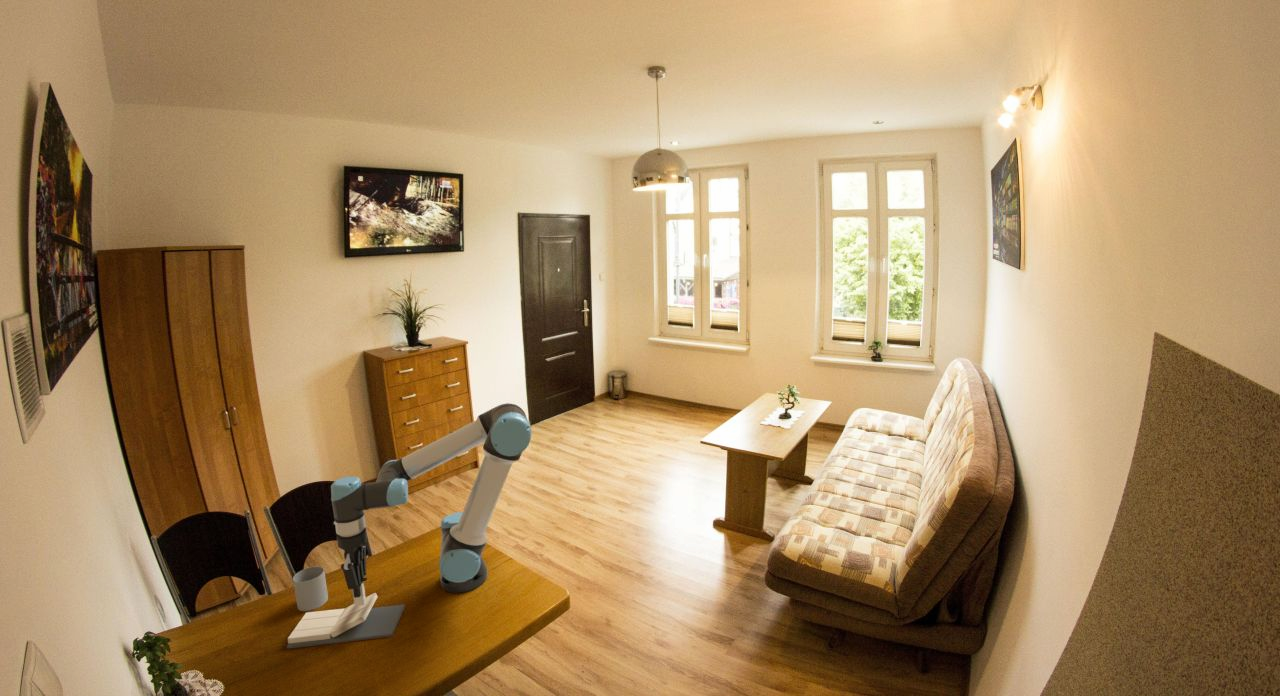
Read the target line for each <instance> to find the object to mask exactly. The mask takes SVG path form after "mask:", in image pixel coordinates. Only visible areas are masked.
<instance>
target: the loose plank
mask: <svg viewBox="0 0 1280 696" xmlns="http://www.w3.org/2000/svg"><path fill="white" fill-rule="evenodd" d="M365 597H366V603H365V605H361V606H354V603H352V604H351V605H349V606H347V607H345V609H344V608H343V609H344V611H343V613H342V614H341V616H340V618H339V619H338V621H337V623H336V624H335V626H334V628H333V629H332V631H331V633H330V635H331V636H332V637H335V636H337V635H339V634H341V633H343V632H345V631H347V630H348V629H350V628H352V627H354V626H356V625H358V624H360V623H362V622H364V621H365V620H366V618H367V616H368V614H369V612H370V610H371V608H374V607H373V606H374V604H375V603H376V601H377V599H378V597H379V596H378V595H377V593H376V592H374V593H372V594H370V595H368V596H365Z"/></svg>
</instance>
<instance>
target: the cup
mask: <svg viewBox="0 0 1280 696" xmlns="http://www.w3.org/2000/svg"><path fill="white" fill-rule="evenodd" d="M292 580H293V587H294V594H295V599H296V606H297V610H298V611H301V612H311V611H313V610H317V609H318V608H320V607H322V606H323V605H324V604H326V602H328V600H329V594H328V588H327V581H326V573H325V569H324V567H323V566H320V565H316V566H314V565H313V566H310V567H306V568H304V569H302V570H300V571H298V572H297V573H296V574H294V576H293V577H292Z"/></svg>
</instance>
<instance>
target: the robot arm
mask: <svg viewBox="0 0 1280 696" xmlns="http://www.w3.org/2000/svg"><path fill="white" fill-rule="evenodd" d="M531 439H532V428H531V424H530V422H529V420H528V418H527V415H526V412H525V410H523V409H522V408H521V406H519V405H517V404H515V403H509V402H507V403H502V404H499V405H497V406H494V407H493V408H491V409H489V410H487V411H485V412H483V413H481V414H480V415H477V418H476V420H474V421H473V422H470V423H468V424H466V425H465V426H462V427H460V428H458V429H456V430H455V431H452V432H451V433H449V434H447V435H444V436H443V437H441V438H439V439H437V440H435V441H433V442H431V443H428V444H427V445H425V446H423V447H421V448H419V449H417V450H415V451H413V452H411V453H409V454H408V455H405V456H403V457H401V458H399V459H390V460H387V461H386V462H385V463H384V464H383V465H382V466H381V468H380V469H379V472H378V475H377V477H376V480H375V481H374V482H366V483H365V482H363V483H362V481H361V478H360V477H358V476H345V477H340V478H338V479H336V480H334V482H333V483H332V484H331V485H330V493H331V498H330V501H331V506H332V511H333V518H334V521H333V525H335V533H336V544H337V547H338V548H339V549H340V550H343V552H344V553H343V558H344V559H345V561H344V563H342V564H341V565H340V569H341V570H342V571H343V576H344V578H345V582H346V586H347V589H348V590H352V597H353V604H354V606H361V605H365V603H366V597H367V596H366V591H365V590H366V589H365V582H367V580H368V577H366V576H367V540H368V535H367V528H366V516H365V511H368V510H375V509H381V508H389V507H391V508H392V507H397V506H401V505H405V504H407V502H408V499H409V486H408V485H409V484H408V482H410V481H412V480H414V479H415V478H417V477H420V476H421V475H424V474H426V473H428V472H429V471H431V470H433V469H435V468H437V467H439V466H440V465H444V464H445V463H447V462H449V461H450V460H453V459H455V458H456V457H459V456H460V455H462V454H464V453H466V452H468V451H471V450H472V449H474V448H476V447H478V446H480V445H481V444H483V446H482V450H483V452H484V454H485V455H484V457H483V459H482V463H481V465H480V467H479V470H478V473H477V475H476V477H475V479H474V483H473V485H472V487H471V490H470V493H469V495H468V497H467V501H466V503H465V504H464V505H465V506H464V507H463V510H462V511H458V512H453V513H451V514H448V515H446V516H445V517H443V518H442V519H441V521H440V530H441V545H440V553H439V554H440V556H439V561H438V566H439V571H440V577H439V578H440V586H441V588H442V589H443V590H444V591H446V592H448V593H454V594H455V593H456V594H457V593H465V592H469V591H472V590H474V589H476V588H478V587H480V586H481V585H482V584H483V583H485V581H486V580H487V578H488V575H489V573H488V567H487V564H486V562H485V560H484V559H483V555H482V554H483V552H484V550H485V547H486V544H487V542H488V536H487V533H486V531H487V528H488V525H489V523H490V521H491V518H492V517H493V513H494V510H495V508H496V505H497V503H498V500H499V498H500V496H501V493H502V490H503V488H504V486H505V483H506V481H507V478H508V476H509V473H510V470H511V467H512V465H513V464H514V463H517V462H519V460H520V459H521V457H522V453H523V452H524V451H525V450H526V449H527V448H528V447H529V445H530V442H531Z"/></svg>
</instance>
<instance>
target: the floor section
mask: <svg viewBox="0 0 1280 696" xmlns="http://www.w3.org/2000/svg"><path fill="white" fill-rule="evenodd" d="M345 608H346V607H345ZM345 608H337V609H336V608H335V609H327V610H319V611H306V612H305V614H304V615H303V616H302V618H301V619H300V621H299V622H298V623H297V625H296V626H295V628H294V629H293V630H292V632H291V633H290V635H289V636H288V637H287V643H288V644H287V645H286V649H288V650H289V649H294V648H295V649H296V648H303V647H304V648H305V647H306V648H307V647H313V646H322V645H328V644H329V645H330V644H338V643H346V642H355V641H362V640H371V639H380V638H388V637H389V638H391V637H393V636H394V633H395V631H396V628H397V626H398V625H399V621H400V619H401V617H402V614H403V612H404V610H405V608H406V605H405V604H397V605H387V606H378V607H372V608H371V610H370V612H369V614H368V616H367V618H366V620H365V621H364V622H362V623H360V624H358V625H356V626H354V627H352V628H350V629H348V630H347V631H345V632H343V633H341V634H339V635H337V636H335V637H332V636H331V635H330V633H331V631H332V629H333V628H334V626H335V624H336V623H337V621H338V619H339V618H340V616H341V614H342V613H343V611H344V609H345Z"/></svg>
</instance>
